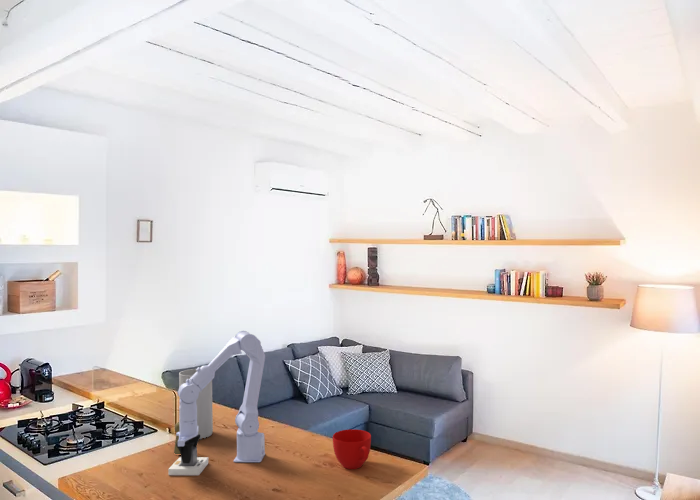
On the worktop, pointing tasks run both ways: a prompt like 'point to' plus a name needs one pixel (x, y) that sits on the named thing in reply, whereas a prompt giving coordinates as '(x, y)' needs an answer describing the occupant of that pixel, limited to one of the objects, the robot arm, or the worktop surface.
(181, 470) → the socket plate
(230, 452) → the worktop surface
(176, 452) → the olive tapered pepper mill
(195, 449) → the plug
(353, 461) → the ceramic cup
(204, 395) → the cylinder vase
